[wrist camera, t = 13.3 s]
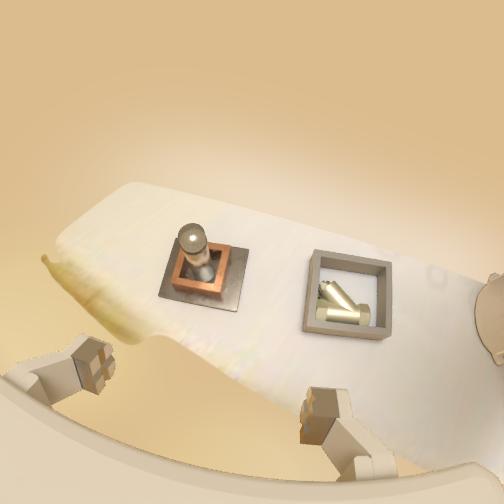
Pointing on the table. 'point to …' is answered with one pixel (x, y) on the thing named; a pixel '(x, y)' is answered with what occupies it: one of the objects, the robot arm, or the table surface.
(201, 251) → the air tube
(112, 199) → the table surface
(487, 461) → the table surface
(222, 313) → the table surface
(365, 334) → the parts corral
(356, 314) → the pipe fitting
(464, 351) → the table surface
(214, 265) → the collar
